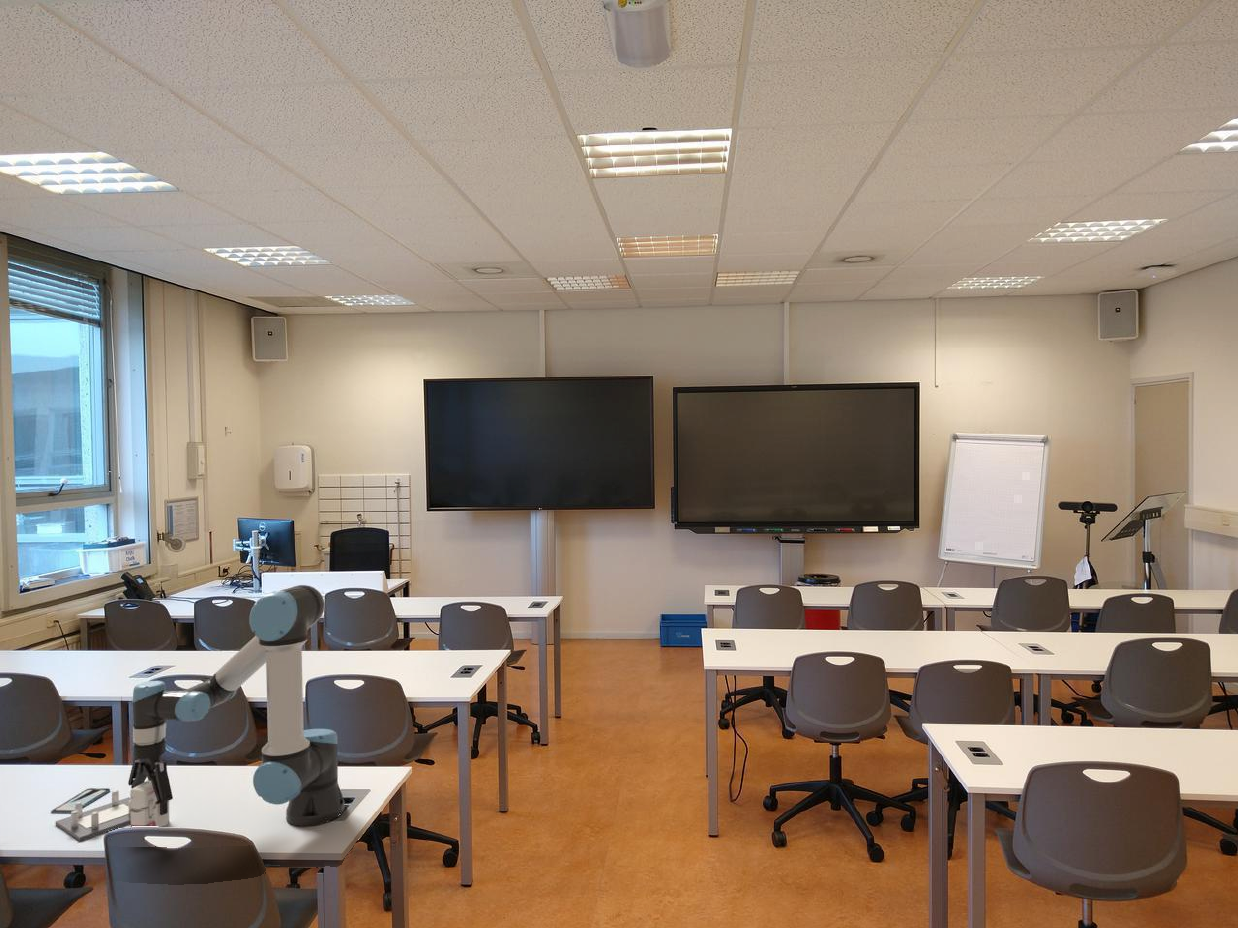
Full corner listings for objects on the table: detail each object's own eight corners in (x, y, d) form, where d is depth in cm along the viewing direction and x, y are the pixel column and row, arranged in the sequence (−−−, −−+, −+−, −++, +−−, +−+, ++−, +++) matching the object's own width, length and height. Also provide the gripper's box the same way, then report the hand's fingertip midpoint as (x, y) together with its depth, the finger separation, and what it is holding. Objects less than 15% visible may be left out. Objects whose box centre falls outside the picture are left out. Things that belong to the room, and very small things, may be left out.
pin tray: (154, 814, 212) (153, 796, 212) (79, 841, 198) (79, 822, 198) (128, 800, 222) (128, 783, 222) (55, 824, 207) (55, 806, 207)
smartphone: (48, 811, 214) (88, 787, 229) (49, 815, 214) (88, 791, 229) (74, 812, 214) (111, 788, 229) (74, 815, 214) (111, 791, 229)
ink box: (145, 835, 200) (144, 791, 200) (129, 834, 201) (128, 789, 201) (170, 820, 209) (170, 777, 209) (155, 819, 210) (154, 776, 210)
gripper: (186, 745, 201) (187, 825, 201) (143, 727, 215) (144, 802, 215) (156, 754, 195) (156, 837, 195) (113, 735, 209) (114, 812, 209)
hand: (150, 818), depth 205 cm, fingers open, 13 cm apart
